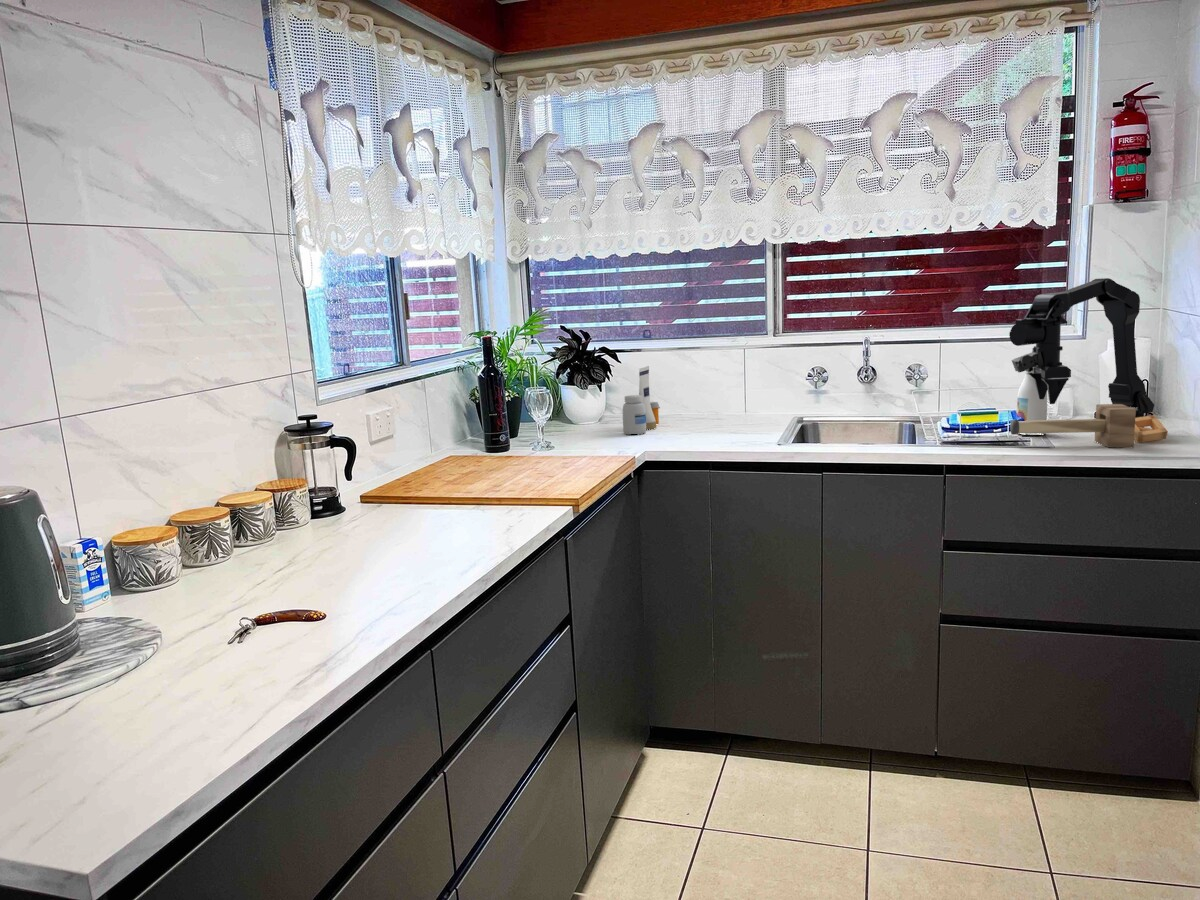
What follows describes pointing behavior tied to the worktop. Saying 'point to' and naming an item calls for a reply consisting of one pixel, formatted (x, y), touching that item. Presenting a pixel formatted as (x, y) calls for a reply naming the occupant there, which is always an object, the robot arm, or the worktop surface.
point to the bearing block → (1116, 425)
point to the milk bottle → (1030, 401)
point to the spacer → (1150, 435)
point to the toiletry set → (640, 408)
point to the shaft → (1057, 426)
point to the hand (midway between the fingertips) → (1046, 401)
